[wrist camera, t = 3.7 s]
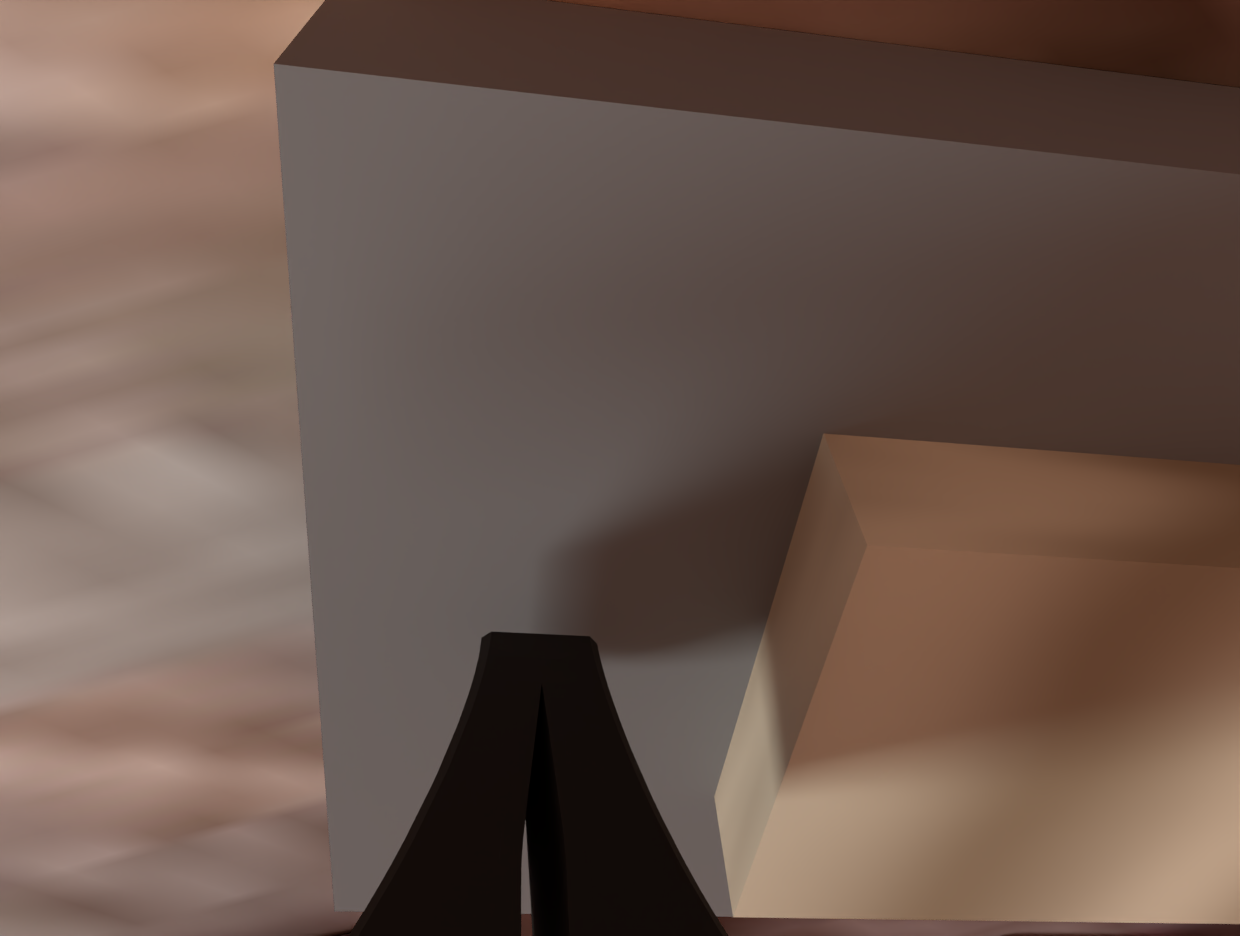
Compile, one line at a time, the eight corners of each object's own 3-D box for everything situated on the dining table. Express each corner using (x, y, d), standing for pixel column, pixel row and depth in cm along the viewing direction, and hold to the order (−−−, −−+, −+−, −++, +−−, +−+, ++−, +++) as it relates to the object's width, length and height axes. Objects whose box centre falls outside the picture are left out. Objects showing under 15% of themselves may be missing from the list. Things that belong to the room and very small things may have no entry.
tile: (1429, 479, 13) (1557, 587, 11) (1179, 809, 17) (1246, 924, 15) (823, 433, 12) (866, 544, 10) (714, 796, 16) (733, 916, 14)
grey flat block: (1745, 151, 15) (2081, 271, 11) (1262, 756, 23) (1380, 925, 20) (345, -25, 12) (274, 64, 9) (367, 724, 20) (334, 911, 17)
